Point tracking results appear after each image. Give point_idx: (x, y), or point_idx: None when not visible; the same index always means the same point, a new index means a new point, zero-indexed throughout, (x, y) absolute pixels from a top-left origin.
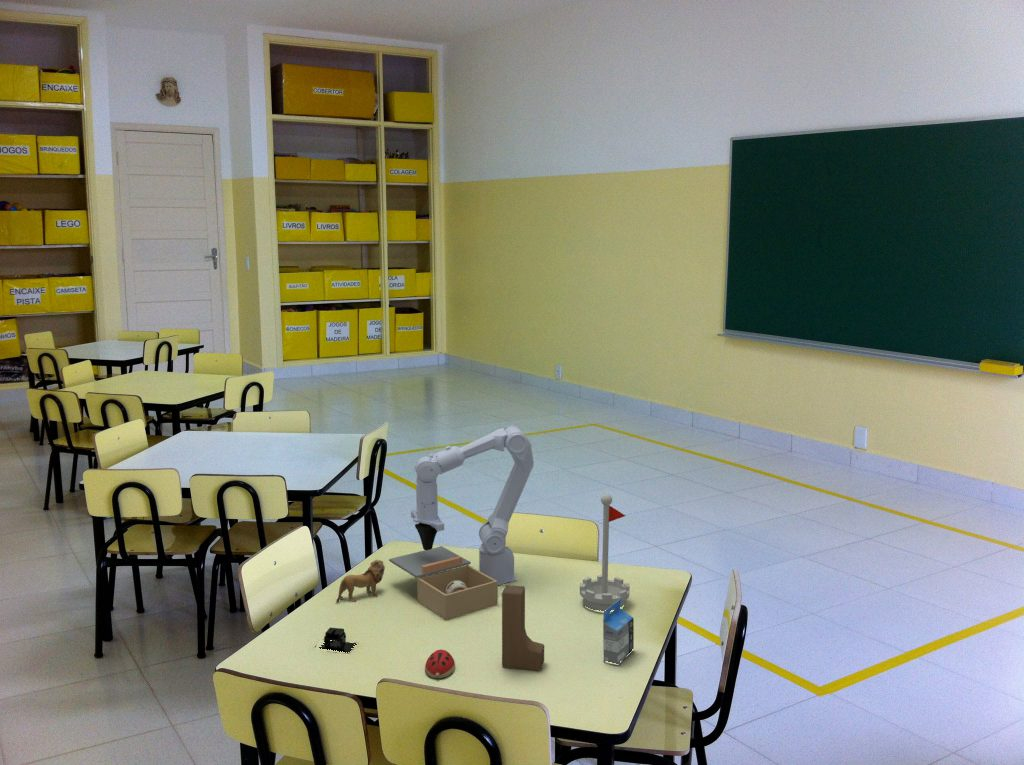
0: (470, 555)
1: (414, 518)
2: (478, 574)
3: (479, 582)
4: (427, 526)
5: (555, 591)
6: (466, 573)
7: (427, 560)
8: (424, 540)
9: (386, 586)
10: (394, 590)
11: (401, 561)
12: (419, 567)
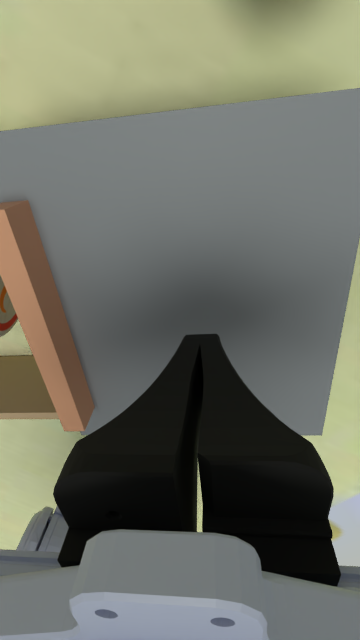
0: (339, 464)
1: (246, 627)
2: (10, 405)
3: (19, 385)
4: (109, 529)
5: (14, 481)
6: None
7: (190, 308)
8: (163, 375)
9: (309, 70)
10: (235, 90)
11: (271, 158)
12: (106, 221)
